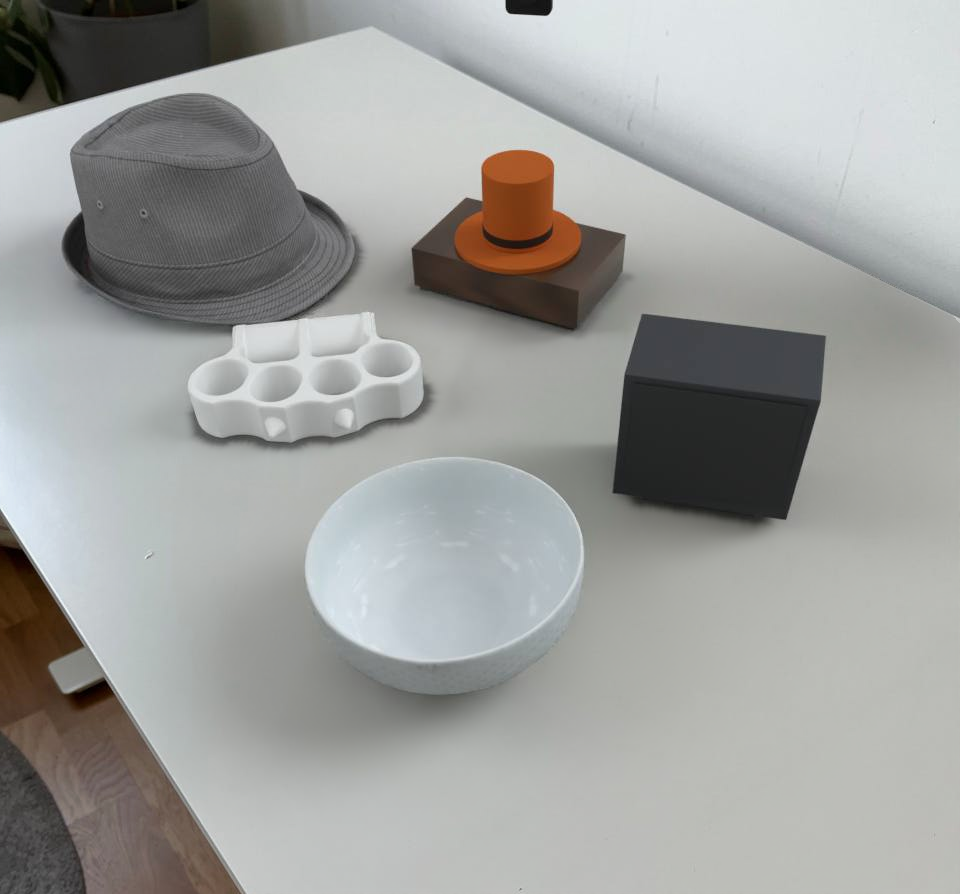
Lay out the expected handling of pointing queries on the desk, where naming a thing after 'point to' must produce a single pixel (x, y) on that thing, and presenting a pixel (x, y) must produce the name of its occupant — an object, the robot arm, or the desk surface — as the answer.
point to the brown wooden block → (536, 295)
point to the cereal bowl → (445, 573)
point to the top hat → (517, 218)
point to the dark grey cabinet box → (717, 414)
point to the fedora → (198, 217)
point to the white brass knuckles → (306, 380)
